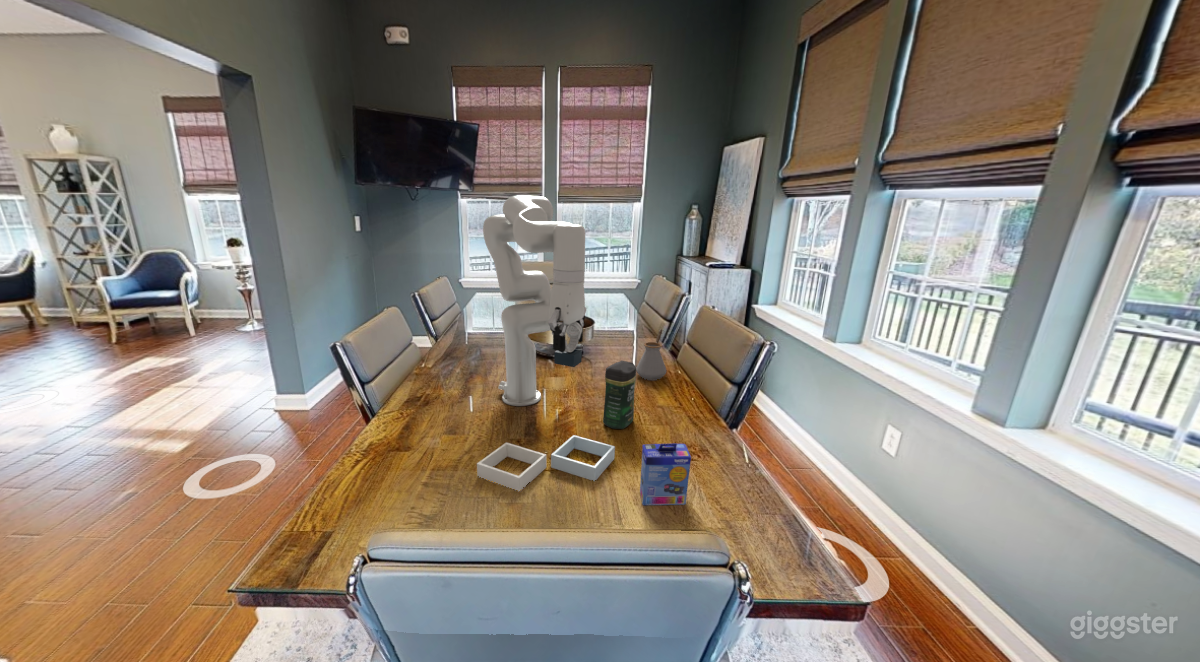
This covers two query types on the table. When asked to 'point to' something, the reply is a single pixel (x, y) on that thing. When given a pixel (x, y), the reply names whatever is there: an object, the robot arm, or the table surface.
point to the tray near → (506, 478)
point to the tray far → (578, 467)
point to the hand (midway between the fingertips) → (568, 345)
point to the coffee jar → (619, 395)
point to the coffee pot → (652, 361)
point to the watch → (570, 347)
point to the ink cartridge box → (664, 474)
